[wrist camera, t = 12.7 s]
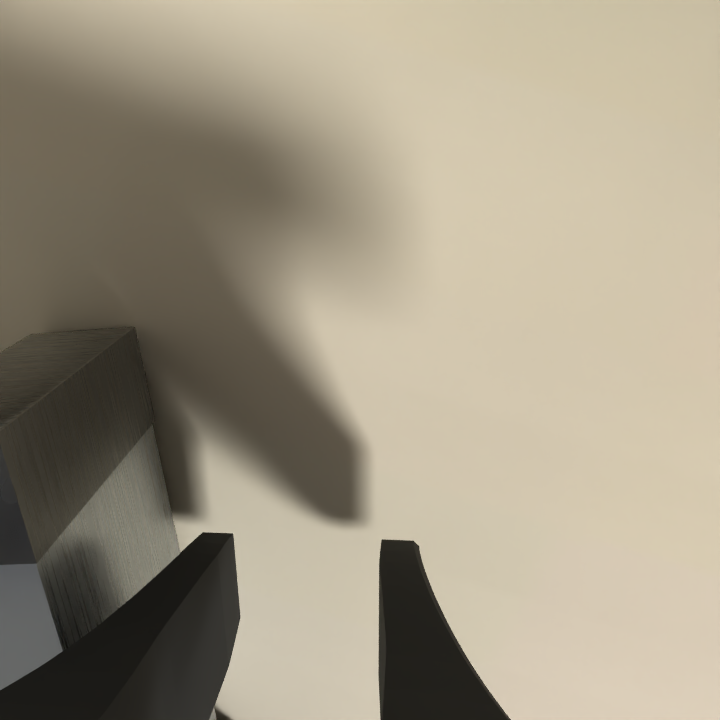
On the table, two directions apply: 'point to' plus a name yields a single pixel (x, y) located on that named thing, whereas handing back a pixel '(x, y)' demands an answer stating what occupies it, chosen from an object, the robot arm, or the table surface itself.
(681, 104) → the table surface
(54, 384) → the crank
